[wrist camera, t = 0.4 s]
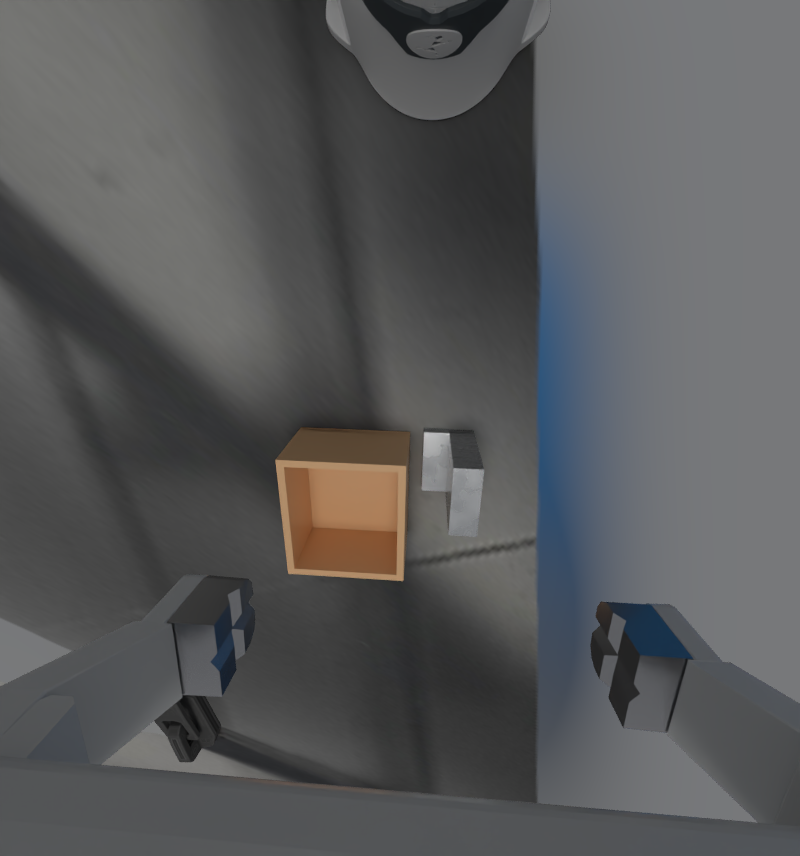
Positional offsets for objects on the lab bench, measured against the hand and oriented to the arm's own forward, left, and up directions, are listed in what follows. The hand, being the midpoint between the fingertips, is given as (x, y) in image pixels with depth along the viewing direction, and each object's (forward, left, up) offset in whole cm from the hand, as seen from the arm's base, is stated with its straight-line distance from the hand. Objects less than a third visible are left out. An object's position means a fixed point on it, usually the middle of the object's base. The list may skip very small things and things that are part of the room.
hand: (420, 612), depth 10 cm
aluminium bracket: (+15, +3, -38) cm, 41 cm away
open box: (+19, -8, -38) cm, 44 cm away
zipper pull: (+63, -40, -39) cm, 84 cm away
